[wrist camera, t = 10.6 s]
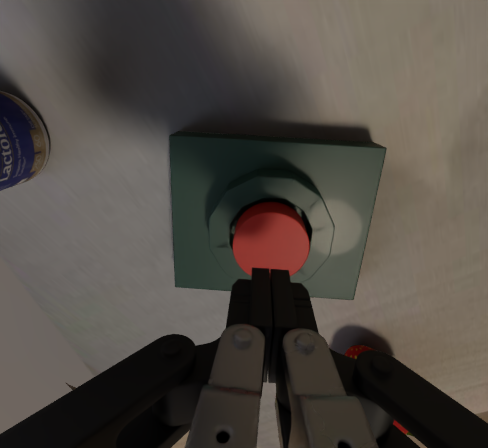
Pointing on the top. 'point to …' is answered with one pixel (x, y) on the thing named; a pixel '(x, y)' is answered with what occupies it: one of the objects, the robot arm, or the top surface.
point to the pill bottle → (20, 142)
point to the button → (270, 238)
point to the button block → (272, 190)
